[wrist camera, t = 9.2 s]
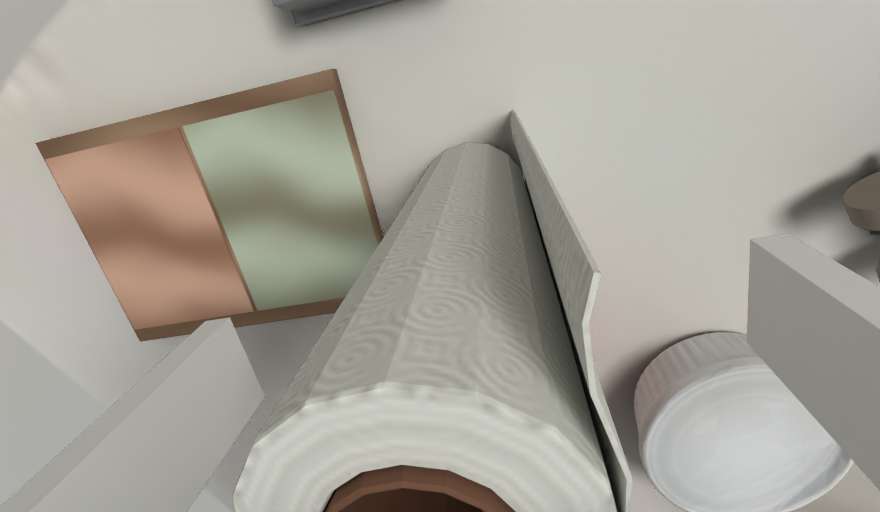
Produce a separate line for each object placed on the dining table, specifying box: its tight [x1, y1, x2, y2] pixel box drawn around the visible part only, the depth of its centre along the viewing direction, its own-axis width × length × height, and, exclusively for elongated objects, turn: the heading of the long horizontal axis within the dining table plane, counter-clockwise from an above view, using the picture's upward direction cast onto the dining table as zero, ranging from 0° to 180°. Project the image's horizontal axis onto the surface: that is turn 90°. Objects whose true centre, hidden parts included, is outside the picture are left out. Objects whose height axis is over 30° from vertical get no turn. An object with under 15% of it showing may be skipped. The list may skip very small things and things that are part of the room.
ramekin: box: [634, 332, 854, 512], centre depth 27 cm, size 11×11×5 cm
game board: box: [36, 69, 383, 341], centre depth 28 cm, size 14×19×1 cm
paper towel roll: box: [233, 110, 633, 512], centre depth 16 cm, size 7×6×21 cm
